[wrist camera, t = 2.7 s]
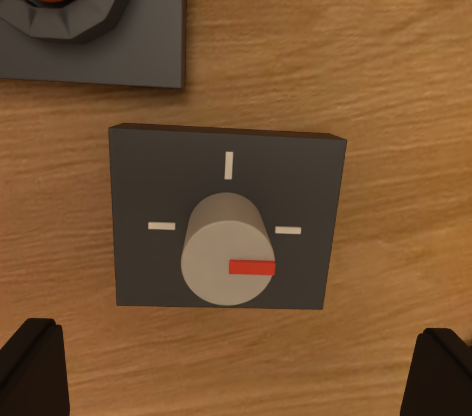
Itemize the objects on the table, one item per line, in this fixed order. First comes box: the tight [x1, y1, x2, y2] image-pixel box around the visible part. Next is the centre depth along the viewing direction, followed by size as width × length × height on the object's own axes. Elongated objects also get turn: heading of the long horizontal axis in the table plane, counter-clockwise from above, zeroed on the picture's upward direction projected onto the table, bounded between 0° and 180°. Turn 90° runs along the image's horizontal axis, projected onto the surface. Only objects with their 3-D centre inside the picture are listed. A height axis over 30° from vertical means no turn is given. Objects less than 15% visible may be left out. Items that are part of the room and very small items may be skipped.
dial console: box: [108, 123, 347, 310], centre depth 21 cm, size 12×10×3 cm
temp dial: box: [181, 192, 276, 305], centre depth 18 cm, size 4×4×5 cm
